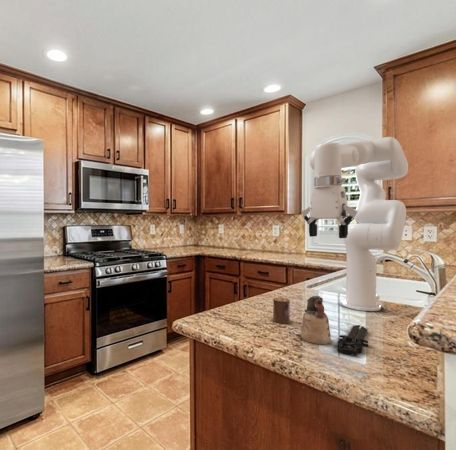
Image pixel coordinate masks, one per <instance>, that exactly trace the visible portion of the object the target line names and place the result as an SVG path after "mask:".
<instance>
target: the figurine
mask: <svg viewBox="0 0 456 450" xmlns="http://www.w3.org/2000/svg"><path fill="white" fill-rule="evenodd" d="M323 301H324V299H323V298H322V297H321V296H320V295H313V296H311V297H309V298H307V304H306V309H304V313H303V315H302V323H301V325H302V326H301V331H300V337H301V339H302V340H303V341H306V342H308V343H311V344H317V345H327V344H330V343H331V329H330V328H331V327H330V319H329V317H328V315H327V313H326V312H325V306H324V304H323Z"/></svg>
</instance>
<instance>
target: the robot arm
mask: <svg viewBox="0 0 456 450" xmlns="http://www.w3.org/2000/svg"><path fill="white" fill-rule="evenodd" d="M309 165H310V167H311V169H312V170H313V171H314V172H313V173H314V175H313V176H314V177H313V178H314V179H313V180H314V181H313V182H314V184H313V185H314V186H313V187H314V188H312V190H311V194H310V202H309V207H307V208H305V209H304V210H302V211H301V214H302V217H303V219H304V221H305V222H306V224H307V225H308V233H309V234H308V235H309V237H317V236H318V224H317V222H318V221H319V220H337V221H338V222H339V225H338V238H339V239H344V243H345V250H346V251H345V252H346V265H345V266H346V267H345V268H346V272H345V273H346V276H345V285H346V286H345V299H343V300H341V302H340V304H341V306H343V307H345V308H348V309H351V310H356V311H364V312H379V311H381V310H382V306H381V305H380V304H379V303H377V301H379V300H380V299H381V296H380V295H379V294H377V270H378V269H377V267H378V264H377V263H378V262H377V259H376V257H375V256H374V254H373V253H372V252H371V251H370V250H377V251H396V250H397V249H399V247H400V245H401V243H402V239H403V235H404V229H405V225H406V221H407V207H406V205H405V203H404V202H403V201H401V200H398V199H386V197H387V193H386V191H385V189H384V188H383V187H382V186H381V185H380V184H378V183H377V182H376V181H385V180H386V181H388V180H399V179H403V178H404V177H405V176H407V174H408V172H409V163H408V160H407V157H406V154H405V152H404V150H403V147H402V145H401V143H400V142H399V141H398V140H397V138H395V137H393V136H386V137H385V136H384V137H379V138H374V139H373V138H372V139H367V140H361V141H353V142H348V143H343V144H340V143H338V142H323V143H320V144H318V145H316V146H315V148H314V150H313V151H312V153H310V156H309ZM352 167H355V168H354V174H355V180H356V182H357V186H358V189H359V198H358V201H357V205H356V208H353V207H351V206H349V205H348V198H347V197H348V196H347V193H346V188H345V186H342V185H343V184H344V183H345V182H346V180H347V179H346V177H343V176H342V170H343V169H349V168H352ZM352 221H356V222H357V223H352ZM351 223H352V224H351Z"/></svg>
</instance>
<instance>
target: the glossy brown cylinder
mask: <svg viewBox="0 0 456 450" xmlns="http://www.w3.org/2000/svg"><path fill="white" fill-rule="evenodd" d="M272 321H273V322H274V323H277V324H284V325H285V324H290V323H291V300H290V299H289V298H286V297H274V298H273V300H272Z"/></svg>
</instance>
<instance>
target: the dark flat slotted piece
mask: <svg viewBox="0 0 456 450" xmlns="http://www.w3.org/2000/svg"><path fill="white" fill-rule="evenodd" d="M367 332H368V329H367V328H366V327H364V326H363V325H362V326H361V325H360V324H355V325H352V326H351V327H350V329H349V331H348V333H347V334H346V335H345V334H340V335H339V338H338V341H337V347H336V350H337V352H338V353H342V354H344V355H353V356H354V357H355V356H357V355H358V354H362V352H363V347H369V341H368V340H367V339H365V337H366V335H367ZM353 340H354V342H353ZM352 342H353V343H352Z"/></svg>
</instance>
